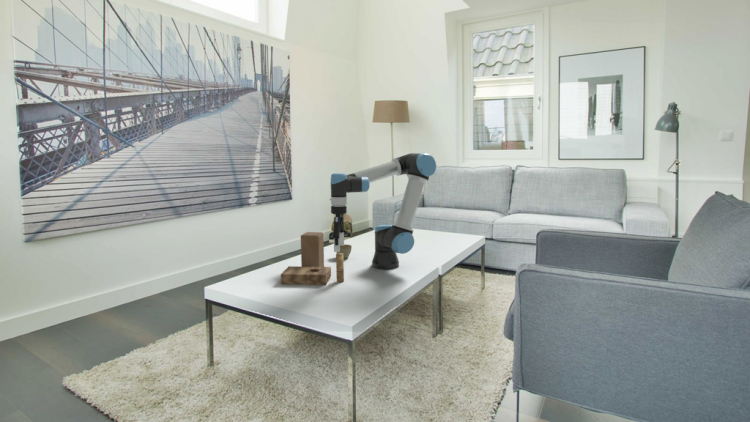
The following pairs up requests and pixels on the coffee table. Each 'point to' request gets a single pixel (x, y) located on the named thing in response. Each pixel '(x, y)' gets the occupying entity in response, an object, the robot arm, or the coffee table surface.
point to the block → (312, 249)
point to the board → (306, 275)
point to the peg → (340, 267)
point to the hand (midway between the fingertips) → (339, 248)
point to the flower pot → (345, 250)
